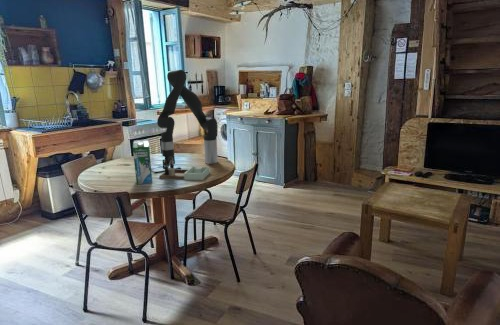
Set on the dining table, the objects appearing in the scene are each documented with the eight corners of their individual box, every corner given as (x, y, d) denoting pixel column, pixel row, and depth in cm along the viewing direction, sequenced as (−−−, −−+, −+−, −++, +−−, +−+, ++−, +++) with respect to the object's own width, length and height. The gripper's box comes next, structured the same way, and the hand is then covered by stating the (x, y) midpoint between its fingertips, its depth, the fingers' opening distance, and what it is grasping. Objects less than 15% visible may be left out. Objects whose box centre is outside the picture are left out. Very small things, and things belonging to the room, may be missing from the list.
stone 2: (196, 173, 227) (196, 167, 226) (203, 173, 227) (203, 167, 226) (194, 175, 223) (194, 168, 222) (201, 175, 222) (201, 168, 221)
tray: (169, 172, 233) (168, 169, 233) (192, 173, 231) (191, 169, 230) (159, 179, 218) (159, 175, 218) (184, 180, 216) (183, 176, 215)
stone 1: (168, 174, 228) (167, 167, 226) (174, 174, 227) (174, 167, 226) (165, 176, 223) (165, 169, 222) (172, 176, 222) (171, 169, 221)
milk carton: (136, 185, 208) (132, 143, 202) (137, 181, 217) (133, 141, 211) (152, 183, 210) (148, 142, 204) (152, 179, 219) (148, 140, 213)
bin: (192, 173, 230) (192, 166, 229) (209, 173, 229) (209, 167, 227) (184, 180, 215) (183, 173, 214) (202, 180, 213) (202, 173, 212)
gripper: (166, 146, 228) (168, 170, 232) (157, 150, 215) (159, 175, 218) (177, 146, 227) (179, 170, 231) (169, 150, 213) (171, 176, 217)
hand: (169, 173), depth 225 cm, fingers open, 8 cm apart
